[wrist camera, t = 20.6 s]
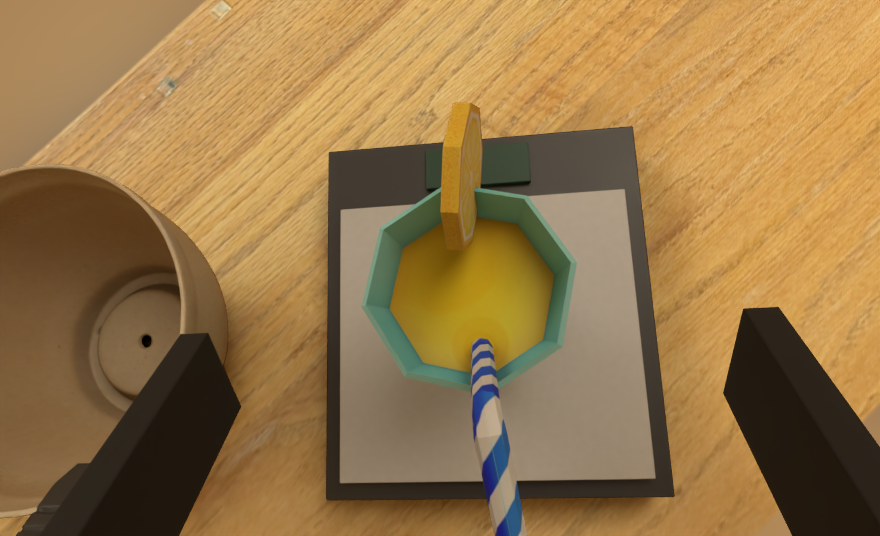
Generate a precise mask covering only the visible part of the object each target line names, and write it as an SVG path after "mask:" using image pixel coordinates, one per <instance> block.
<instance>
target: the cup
mask: <svg viewBox="0 0 880 536" xmlns="http://www.w3.org/2000/svg"><path fill="white" fill-rule="evenodd" d="M482 152H483V147H482V134H481V121H480V108H478V107H477V106H475V105H473V104H472V103H453V106H452V111H451V115H450V119H449V123H448V127H447V131H446V135H445V140H444V144H443V154H442V180H441V187H440V188H439V189H437V190H436V191H434V192H433V193H431V194H430V195H428V196H427V197H425V198H424V199H422V200H421V201H419V202H418V203H416V204H415V205H413V206H412V207H410V208H409V209H407V210H406V211H404V212H403V213H401V214H400V215H398V216H397V217H395V218H394V219H392V220H391V221H389V222H388V223H386V224H385V225H383V226H382V227H380V229H379V233H378V238H377V242H376V246H375V250H374V255H373V259H372V263H371V267H370V272H369V276H368V280H367V284H366V289H365V293H364V297H363V301H362V306H361V307H362V309H363V310H364V312H365V314H366V315H367V317H368V318H369V320H370V322H371V323H372V325H373V327H374V328H375V330H376V331H377V333H378V335H379V336H380V338H381V340H382V341H383V343H384V344H385V346H386V348H387V349H388V351H389V353H390V354H391V356H392V357H393V359H394V361H395V362H396V364H397V365H398V367H399V369H400V370H401V372H402V374H403V375H404V377H405V378H410V379H414V380H419V381H423V382H428V383H433V384H437V385H442V386H446V387H451V388H455V389H460V390H464V391H469V392H471V413H472V421H473V438H474V442H475V447H476V452H477V456H478V461H479V465H480V470H481V475H482V479H483V484H484V488H485V493H486V498H487V502H488V507H489V511H490V516H491V521H492V525H493V530H494V534H495V536H527V531H526V526H525V521H524V516H523V511H522V506H521V501H520V496H519V491H518V485H517V480H516V475H515V470H514V465H513V460H512V455H511V450H510V445H509V440H508V435H507V430H506V426H505V423H504V419H503V415H502V410H501V404H500V397H499V389H501V388H502V387H504V386H505V385H507V384H508V383H509V382H511V381H512V380H514V379H515V378H517V377H518V376H520V375H521V374H523V373H524V372H526V371H527V370H529V369H530V368H532V367H533V366H535V365H536V364H538V363H539V362H541V361H542V360H544V359H545V358H547V357H548V356H550V355H551V354H553V353H554V352H556V351H557V350H559V349H560V348H562V347H563V341H564V335H565V329H566V324H567V318H568V312H569V306H570V300H571V294H572V288H573V282H574V276H575V271H576V265H577V262H576V260H575V259H574V258H573V256H572V255H571V254H570V252H569V251H568V250H567V248H566V247H565V246H564V244H563V243H562V242H561V240H560V239H559V238H558V236H557V235H556V234H555V232H554V231H553V230H552V228H551V227H550V225H549V224H548V223H547V221H546V220H545V219H544V217H543V216H542V215H541V213H540V212H539V211H538V209H537V208H536V207H535V205H534V204H533V203H532V201H531V200H530V199H529V197H528V196H526V195H520V194H513V193H507V192H501V191H494V190H488V189H482V188H481V171H482Z"/></svg>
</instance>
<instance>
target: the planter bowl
mask: <svg viewBox="0 0 880 536" xmlns="http://www.w3.org/2000/svg"><path fill="white" fill-rule="evenodd" d="M193 333H209V335H210V338H211V340H212V342H213V344H214V347H215V349H216V351H217V353H218V356H219V358H220V360H221V362H222V365H223V364H224V361H225V358H226V354H227V348H228V321H227V312H226V306H225V302H224V298H223V294H222V291H221V288H220V286H219V283H218V281H217V278H216V276H215V274H214V272H213V270H212V269H211V267H210V265H209V263H208V262H207V260H206V259H205V257H204V255H203V254H202V253H201V251H200V250H199V249H198V247H197V246H196V245H195V243H194V242H193V241H192V240H191V239H190V238H189V237H188V236H187V234H186V233H185V232H184V231H182V230H181V229H180V228H179V227H178V226H177V225H176V224H175V223H174V222H172V221H171V220H170V219H169V218H167V217H166V216H165V215H163V214H162V213H161V212H159V211H158V210H157V209H155V208H154V207H152V206H150V205H149V204H148V203H147V202H146V201H145V200H144V199H143V198H141V197H140V196H139V195H138V194H136V193H135V192H134V191H132V190H131V189H129V188H128V187H126V186H124V185H122V184H121V183H119V182H117V181H115V180H113V179H111V178H109V177H107V176H105V175H103V174H100V173H98V172H95V171H92V170H89V169H85V168H82V167H77V166H71V165H64V164H39V165H29V166H22V167H17V168H13V169H9V170H6V171H2V172H0V518H13V517H21V516H26V515H31V514H32V513H33V512H36V511H37V506H38V505H39V504H40V502H41V501H42V499H43V498H44V497H45V495H46V494H47V493H48V491H49V490H50V489H51V487H52V486H53V485H54V484H55V483H56V482H57V481H58V480H59V479H60V478H61V477H63V476H64V475H65V474H66V473H67V472H68V471H69V470H71V469H72V468H73V467H74V466H75V465H76V464H77V463H90V462H91V461H92V460H93V458H94V457H95V455H96V454H97V452H98V451H99V450H100V448H101V447H102V445H103V444H104V442H105V441H106V440H107V438H108V437H109V435H110V434H111V432H112V431H113V430H114V428H115V427H116V425H117V424H118V423H119V421H120V420H121V418H122V417H123V415H124V414H125V413H126V411H127V410H128V408H129V407H130V405H131V404H132V403H133V401H134V400H135V398H136V397H137V395H138V394H139V393H140V391H141V390H142V388H143V387H144V386H145V384H146V383H147V381H148V380H149V378H150V377H151V376H152V374H153V373H154V371H155V370H156V368H157V367H158V366H159V364H160V363H161V361H162V360H163V358H164V357H165V356H166V354H167V353H168V351H169V350H170V349H171V347H172V346H173V344H174V343H175V341H176V340H177V339H178V337H179V336H180V334H193ZM146 335H148V336H150V337H151V338H152V343H151V345H150V346H149V347H147V348H145V347H144V346H143V344H142V338H143V337H144V336H146Z"/></svg>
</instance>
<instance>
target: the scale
mask: <svg viewBox="0 0 880 536" xmlns="http://www.w3.org/2000/svg"><path fill="white" fill-rule="evenodd" d="M443 144H444V142H443V143H431V144H420V145H408V146H396V147H384V148H373V149H361V150H349V151H338V152H329V192H328V325H327V458H326V500H426V499H487V498H486V493H485V488H484V484H483V479H482V475H481V470H480V465H479V461H478V456H477V452H476V447H475V442H474V438H473V421H472V413H471V392H469V391H464V390H460V389H455V388H451V387H446V386H442V385H437V384H433V383H428V382H423V381H419V380H414V379H410V378H405V377H404V375H403V374H402V372H401V370H400V369H399V367H398V365H397V364H396V362H395V361H394V359H393V357H392V356H391V354H390V353H389V351H388V349H387V348H386V346H385V344H384V343H383V341H382V340H381V338H380V336H379V335H378V333H377V331H376V330H375V328H374V327H373V325H372V323H371V322H370V320H369V318H368V317H367V315H366V314H365V312H364V310H363V309H362V307H361V306H362V301H363V297H364V293H365V289H366V284H367V280H368V276H369V272H370V267H371V263H372V259H373V255H374V250H375V246H376V242H377V238H378V233H379V229H380V227H382V226H383V225H385V224H386V223H388V222H389V221H391V220H392V219H394V218H395V217H397V216H398V215H400V214H401V213H403V212H404V211H406V210H407V209H409V208H410V207H412V206H413V205H415V204H416V203H418V202H419V201H421V200H422V199H424V198H425V197H427V196H428V195H430V194H431V193H433V192H434V191H436V190H437V189H439V188H440V187H441V180H442V154H443ZM482 147H483V152H482V171H481V188H482V189H488V190H494V191H501V192H507V193H513V194H520V195H526V196H528V197H529V199H530V200H531V201H532V203H533V204H534V205H535V207H536V208H537V209H538V211H539V212H540V213H541V215H542V216H543V217H544V219H545V220H546V221H547V223H548V224H549V225H550V227H551V228H552V230H553V231H554V232H555V234H556V235H557V236H558V238H559V239H560V240H561V242H562V243H563V244H564V246H565V247H566V248H567V250H568V251H569V252H570V254H571V255H572V256H573V258H574V259H575V260H576V262H577V265H576V271H575V276H574V282H573V288H572V294H571V300H570V306H569V312H568V318H567V324H566V329H565V335H564V341H563V347H562V348H560V349H559V350H557V351H556V352H554V353H553V354H551V355H550V356H548V357H547V358H545V359H544V360H542V361H541V362H539V363H538V364H536V365H535V366H533V367H532V368H530V369H529V370H527V371H526V372H524V373H523V374H521V375H520V376H518V377H517V378H515V379H514V380H512V381H511V382H509V383H508V384H507V385H505V386H504V387H502V388H501V389H499V397H500V404H501V410H502V415H503V419H504V423H505V426H506V430H507V435H508V440H509V445H510V450H511V455H512V460H513V465H514V470H515V475H516V480H517V485H518V491H519V496H520V499H526V498H626V497H674V496H675V495H674V486H673V478H672V469H671V460H670V451H669V442H668V433H667V425H666V416H665V407H664V398H663V389H662V381H661V372H660V363H659V354H658V345H657V336H656V328H655V319H654V310H653V301H652V292H651V284H650V275H649V266H648V257H647V248H646V239H645V231H644V222H643V213H642V204H641V195H640V187H639V178H638V169H637V160H636V151H635V142H634V134H633V127H632V126H630V127H619V128H607V129H595V130H583V131H572V132H560V133H548V134H537V135H525V136H513V137H502V138H490V139H482Z"/></svg>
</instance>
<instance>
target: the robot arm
mask: <svg viewBox="0 0 880 536" xmlns="http://www.w3.org/2000/svg"><path fill="white" fill-rule="evenodd" d="M723 394H724V396H725V398H726V400H727V402H728V404H729V406H730V408H731V410H732V412H733V414H734V416H735V418H736V421H737V423H738V425H739V427H740V429H741V431H742V433H743V435H744V437H745V439H746V441H747V443H748V445H749V447H750V449H751V451H752V454H753V456H754V458H755V460H756V462H757V464H758V466H759V468H760V470H761V472H762V474H763V476H764V478H765V480H766V482H767V484H768V487H769V489H770V491H771V493H772V495H773V497H774V499H775V501H776V503H777V505H778V507H779V509H780V511H781V513H782V515H783V518H784V520H785V521H786V524H787V526H788V528H789V530H790V532H791V534H792V536H880V447H879V445H878V444H877V443H876V441H875V440H874V438H873V437H872V436H871V434H870V433H869V431H868V430H867V429H866V427H865V426H864V425H863V423H862V422H861V420H860V419H859V418H858V416H857V415H856V413H855V412H854V411H853V409H852V408H851V407H850V405H849V404H848V402H847V401H846V400H845V398H844V397H843V396H842V394H841V393H840V391H839V390H838V389H837V387H836V386H835V384H834V383H833V382H832V380H831V379H830V378H829V376H828V375H827V373H826V372H825V371H824V369H823V368H822V366H821V365H820V364H819V362H818V361H817V360H816V358H815V357H814V355H813V354H812V353H811V351H810V350H809V349H808V347H807V346H806V344H805V343H804V342H803V340H802V339H801V337H800V336H799V335H798V333H797V332H796V331H795V329H794V328H793V326H792V325H791V324H790V322H789V321H788V319H787V318H786V317H785V315H784V314H783V313H782V311H781V310H780V308H779V307H770V308H748V309H743V312H742V316H741V320H740V325H739V329H738V333H737V337H736V341H735V346H734V350H733V354H732V358H731V363H730V367H729V371H728V375H727V379H726V384H725V388H724V392H723ZM240 408H241V405H240V403H239V401H238V398H237V396H236V394H235V392H234V389H233V387H232V385H231V383H230V380H229V378H228V376H227V374H226V371H225V369H224V367H223V365H222V362H221V360H220V358H219V356H218V353H217V351H216V349H215V347H214V344H213V342H212V340H211V338H210V335H209V333H193V334H180V336H179V337H178V339H177V340H176V341H175V343H174V344H173V346H172V347H171V349H170V350H169V351H168V353H167V354H166V356H165V357H164V358H163V360H162V361H161V363H160V364H159V366H158V367H157V368H156V370H155V371H154V373H153V374H152V376H151V377H150V378H149V380H148V381H147V383H146V384H145V386H144V387H143V388H142V390H141V391H140V393H139V394H138V395H137V397H136V398H135V400H134V401H133V403H132V404H131V405H130V407H129V408H128V410H127V411H126V413H125V414H124V415H123V417H122V418H121V420H120V421H119V423H118V424H117V425H116V427H115V428H114V430H113V431H112V432H111V434H110V435H109V437H108V438H107V440H106V441H105V442H104V444H103V445H102V447H101V448H100V450H99V451H98V452H97V454H96V455H95V457H94V458H93V460H92V461H91V462H90V463H77V464H76V465H75V466H74V467H73V468H72V469H71V470H69V471H68V472H67V473H66V474H65V475H64V476H63V477H61V478H60V479H59V480H58V481H57V482H56V483H55V484H54V485H53V486H52V487H51V489H50V490H49V491H48V493H47V494H46V495H45V497H44V498H43V499H42V501H41V502H40V504H39V505H38V506H37V511H36V512H33V513H32V514H31V516H30V517H29V518H28V520H27V521H26V522H25V524H24V525H23V527H22V528H23V529H22V531H21V532H18V533H17V535H16V536H179V535H180V532H181V530H182V528H183V526H184V524H185V522H186V520H187V518H188V516H189V514H190V512H191V510H192V508H193V506H194V503H195V501H196V499H197V497H198V495H199V493H200V491H201V489H202V487H203V485H204V483H205V481H206V479H207V476H208V474H209V472H210V470H211V468H212V466H213V464H214V462H215V460H216V458H217V456H218V454H219V452H220V449H221V447H222V445H223V443H224V441H225V439H226V437H227V435H228V433H229V431H230V429H231V427H232V425H233V423H234V420H235V418H236V416H237V414H238V412H239V410H240Z"/></svg>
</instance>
